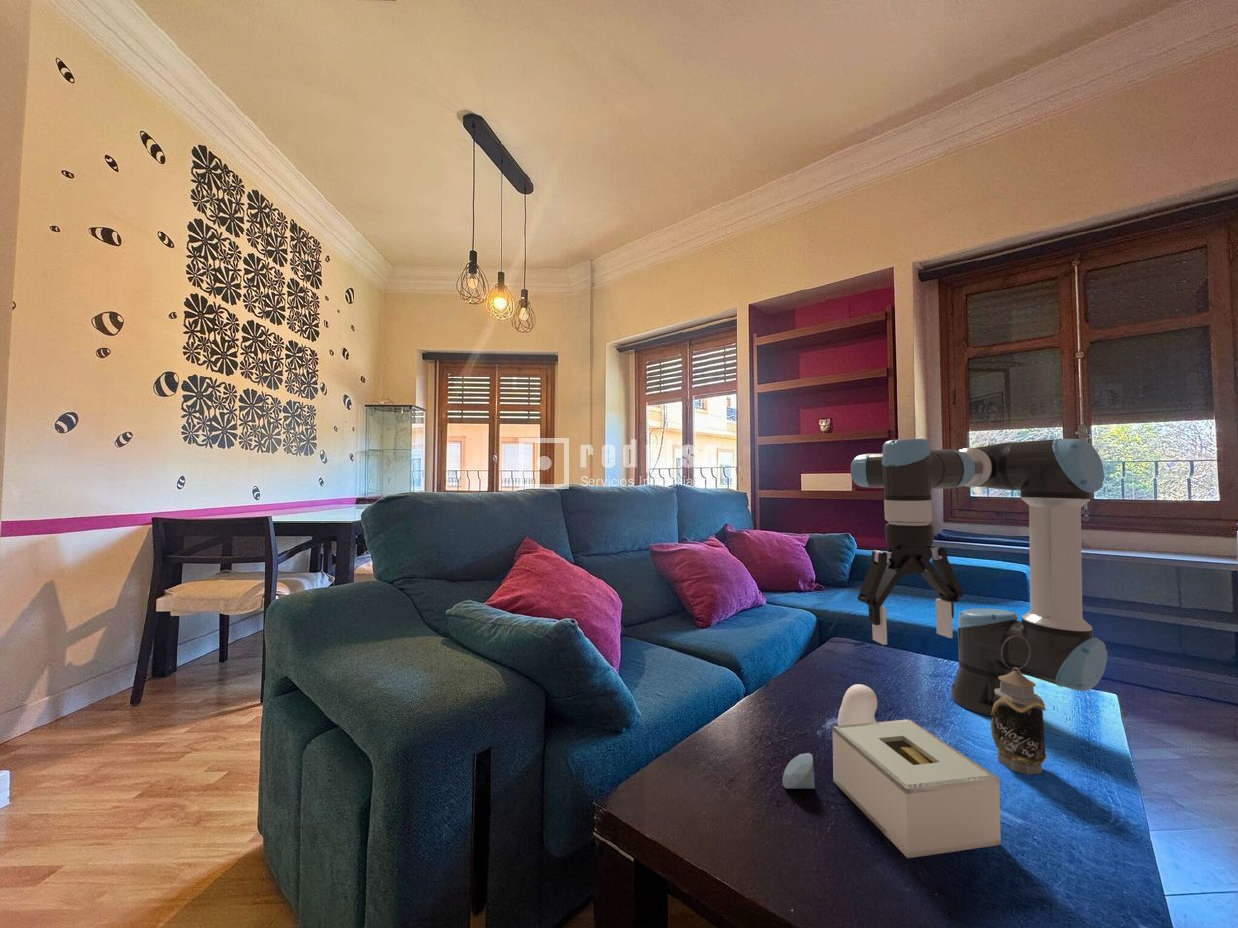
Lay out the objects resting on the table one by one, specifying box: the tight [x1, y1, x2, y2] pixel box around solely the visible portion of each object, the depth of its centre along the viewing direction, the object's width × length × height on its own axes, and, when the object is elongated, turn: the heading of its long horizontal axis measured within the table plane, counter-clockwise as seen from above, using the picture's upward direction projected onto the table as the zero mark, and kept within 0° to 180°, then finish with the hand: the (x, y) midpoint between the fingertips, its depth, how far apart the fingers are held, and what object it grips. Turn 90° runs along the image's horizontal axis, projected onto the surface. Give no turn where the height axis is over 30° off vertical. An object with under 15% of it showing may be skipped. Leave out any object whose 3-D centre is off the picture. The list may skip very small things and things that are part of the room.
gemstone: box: [782, 752, 815, 790], centre depth 86 cm, size 8×8×5 cm
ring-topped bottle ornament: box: [990, 635, 1048, 776], centre depth 93 cm, size 9×8×25 cm
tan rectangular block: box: [899, 747, 933, 765], centre depth 80 cm, size 3×5×8 cm, turn 12°
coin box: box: [832, 718, 1002, 859], centre depth 80 cm, size 16×18×10 cm
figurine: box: [837, 683, 878, 726], centre depth 101 cm, size 7×8×12 cm
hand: (912, 638), depth 87 cm, fingers open, 13 cm apart
